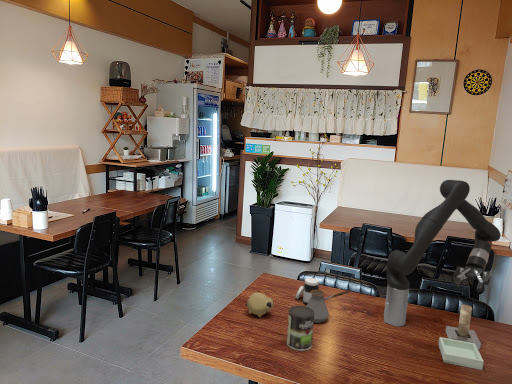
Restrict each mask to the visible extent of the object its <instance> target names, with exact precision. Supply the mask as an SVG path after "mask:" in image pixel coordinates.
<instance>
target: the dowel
mask: <svg viewBox="0 0 512 384" xmlns="http://www.w3.org/2000/svg"><path fill="white" fill-rule="evenodd" d="M472 310H473V306H471V305H468V304H461V306H460V311H459V321H458V326H457V328H458V333H457V336H459V337H465V338H468V334H469V330H470V326H471V319H472Z"/></svg>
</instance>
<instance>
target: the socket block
mask: <svg viewBox="0 0 512 384" xmlns="http://www.w3.org/2000/svg"><path fill="white" fill-rule="evenodd" d="M445 333H446V336H447V339H453V340H458V341H464V342H470V343H475V345H476V347H477V349H478V350H480V349H481V345H482V344H481V341H480V339H479V338H478V335H477V333H476V332H475V330H473V329H469V334H468V338H465V337H459V336H457V333H458V327H457V326H456V327H455V326H449V325H446V326H445Z"/></svg>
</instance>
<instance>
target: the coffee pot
mask: <svg viewBox="0 0 512 384" xmlns="http://www.w3.org/2000/svg"><path fill="white" fill-rule="evenodd" d="M348 293H351V294H353V292H352V290H351V289H350V290H345V291H340V292H338V293H336V294H334V295H333V294H332V295H330V296H326V297H324V296H325V291H323V290H320V289H319V290H312V291H311V294H312V297H311V298H310V300H309V302H308V304H306V306H305V307H309V308H311V309H312V310H313V311H314V322H313V324H314V323H316V324H322V323H323V322H325V321H326V320H327V319H328V318H329V316H330V314H329V310H328V308H327V305H326V302H325V301H326V300H328V299H332V298H335V297H339V296H344V295H345V294H348Z"/></svg>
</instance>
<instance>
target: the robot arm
mask: <svg viewBox="0 0 512 384" xmlns="http://www.w3.org/2000/svg"><path fill="white" fill-rule="evenodd" d="M470 190H471V187H470V185H469V183H468V182H467V181H466V180H465V181H464V180H460V179H459V180H457V179H446V180H444V181H442V182H441V183H440V185H439V192H440V195H441V196H442V197H443V198H444V200H443V201H442V202H441V203H440V204H438V205H437V206H435V207H433V208H432V209H430V210H429V211H428V212H426V213H425V214H424V215H423V216H422V218H421V219H420V220H419V222H418V223H417V224H416V226H415V229H414V240H413V243H412V245H411V246H410V249H409V250H408V251H407V252H404V251H401V250H398V249H395V250H392V251H391V252H390V254H389V255H388V258H387V261H386V262H387V263H386V279H387V287H386V298H385V303H384V313H383V323H385V324H389V326H394V327H404V326H405V325H406V320H407V319H406V318H407V310H408V300H409V292H410V281H409V280H408V278H407V277H406V276H409V275H410V274H412V273H413V272H414V271H415V269H416V268H417V266H418V265H419V263H420V261H421V260H422V258H423V256H424V254H425V253H426V250H427V249H428V248H429V246H430V245H431V243H432V242H433V241H434V239H435V238H436V237H437V235H438V234H439V233H440V231H441V230H442V229H443V227H444V225H445V224H446V222H447V221H448V220H449V219H450V217H451V216H452V215H453V214H454V212H455V211H456V210H457V211H458V212H459V213H460V215H462V216H463V217H464V219H465V220H466V221H467V223H468V224H469V225H470V226H471V227H472V229H473V230H475V231H474V245H473V246H472V247H473V248H472V250H471V252H470V254H469V256H468V259H467V261H466V263H465V267H461V266H460V265H457V267H456V269H455V270H454V273H453V277H454V279H455V281H454V284H455V286H456V288H459V287H460V284H461V282H462V280H465V279H472V280H478V281H477V282H478V283H477V287H476V291H477V292H479V293H480V291H482V290H483V287H484V285H486V286H489V284H490V282H491V277H492V274H491V271H490V270H487V271H485V269H486V267H487V265H488V263H489V257H490V254H491V252H492V244H491V242H492V243H493V242H498V241H499V240H500V239H501V231H500V230H499V228H498V226H496V225H495V224H493V223H492V222H491V221H489V220H488V219H486V217H485V216H484V215H483V214H482V212H481V211H480V210H479V209H478V208H476V206H474V205H473V204H472V203H470V202H469V201H468V200H466V199H467V197H468V195H470ZM483 276H484V277H485V278H484V280H483V278H482V277H483Z"/></svg>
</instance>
